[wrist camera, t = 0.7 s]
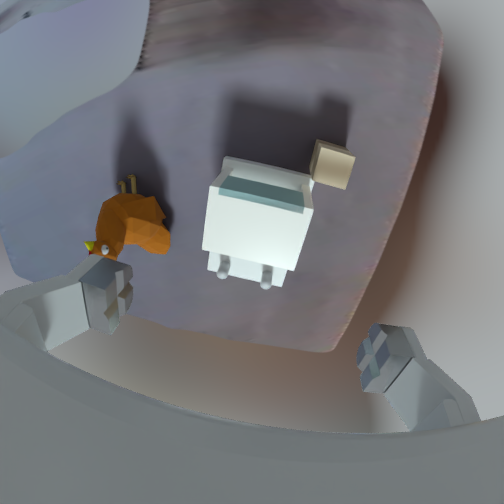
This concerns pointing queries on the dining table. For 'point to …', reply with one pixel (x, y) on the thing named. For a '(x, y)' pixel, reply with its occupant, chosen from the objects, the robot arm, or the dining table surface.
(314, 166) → the block
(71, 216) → the dining table surface
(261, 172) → the white peg base plate
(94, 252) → the toy
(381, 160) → the dining table surface
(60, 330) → the robot arm
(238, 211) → the cover
